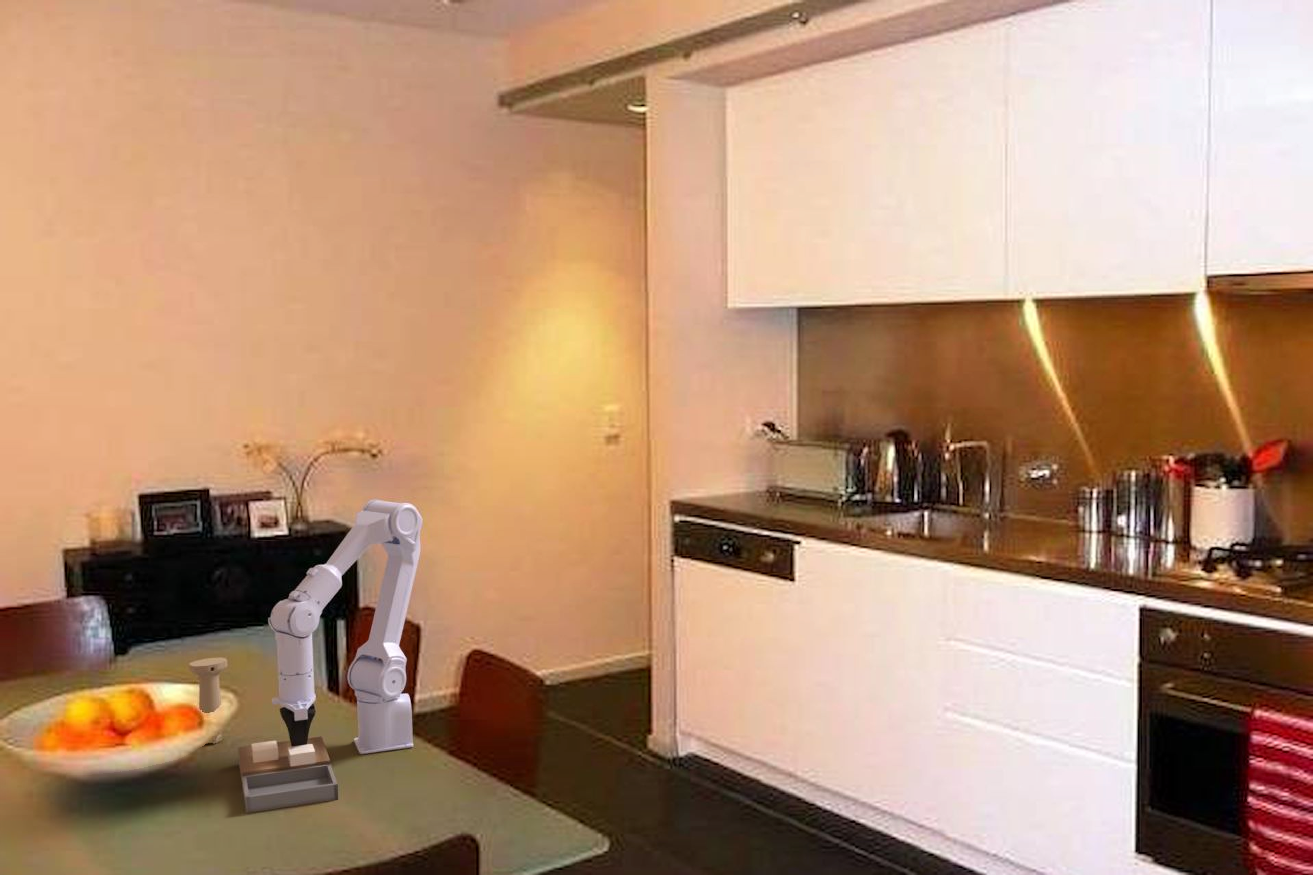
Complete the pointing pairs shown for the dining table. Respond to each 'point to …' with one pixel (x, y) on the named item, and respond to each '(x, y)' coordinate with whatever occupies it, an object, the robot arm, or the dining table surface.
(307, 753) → the tile
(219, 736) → the handle
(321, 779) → the tray
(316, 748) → the board
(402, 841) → the dining table surface
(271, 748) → the tile
